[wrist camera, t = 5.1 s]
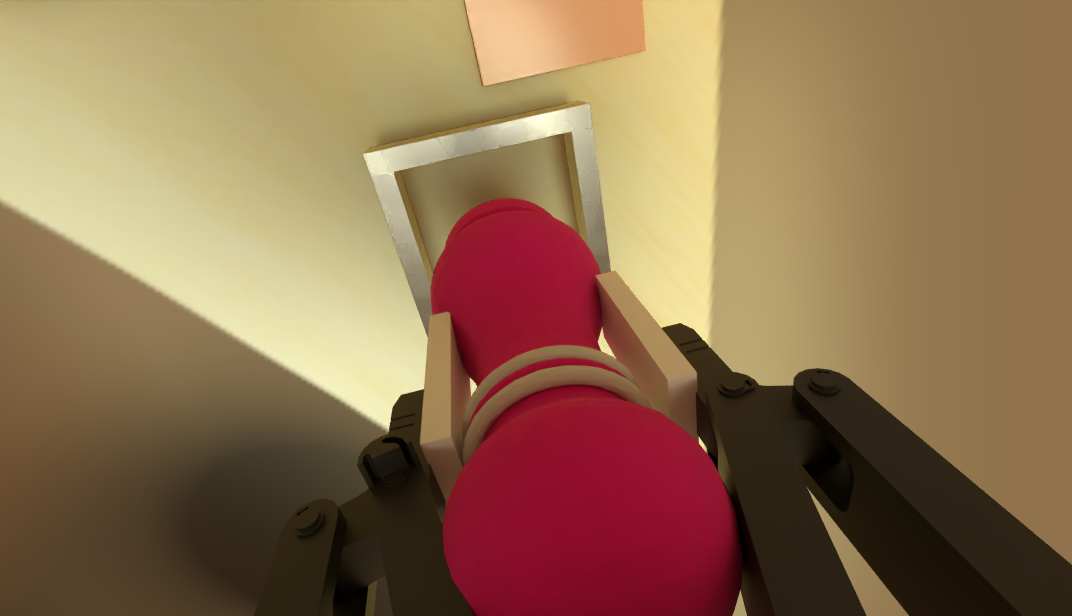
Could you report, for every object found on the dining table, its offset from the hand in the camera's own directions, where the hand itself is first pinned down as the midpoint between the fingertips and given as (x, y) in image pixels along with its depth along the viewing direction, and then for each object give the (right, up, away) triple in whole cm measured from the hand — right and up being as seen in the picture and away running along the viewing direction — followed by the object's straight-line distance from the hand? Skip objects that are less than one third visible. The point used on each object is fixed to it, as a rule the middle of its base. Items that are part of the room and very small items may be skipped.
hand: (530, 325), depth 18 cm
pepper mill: (-1, +3, +6) cm, 7 cm away
